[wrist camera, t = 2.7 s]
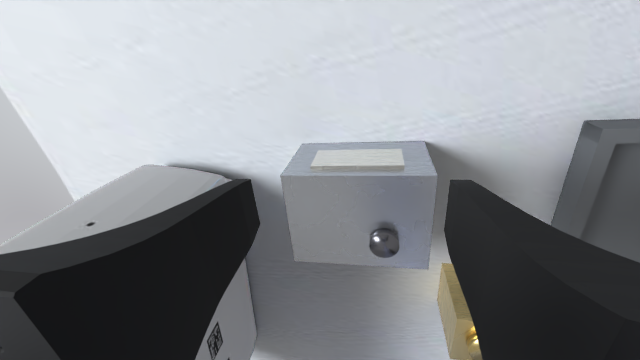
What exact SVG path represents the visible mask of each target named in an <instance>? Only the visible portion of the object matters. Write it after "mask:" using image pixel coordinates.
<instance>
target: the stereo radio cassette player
mask: <svg viewBox="0 0 640 360" xmlns="http://www.w3.org/2000/svg"><path fill="white" fill-rule="evenodd" d="M229 181H232V180H231V179H227V178H224V176H221V175H218V174H213V173H209V172H204V171H199V170H194V169H186V168H179V167H170V166H159V165H144V166H141V167H139V168H137V169H135V170H133V171H131V172H129V173H127V174H125V175H123V176H121V177H119V178H117V179H115V180H113V181H111V182H109V183H107V184H105V185H104V186H102V187H100V188H98V189H96V190H94V191H92V192H91V193H89V194H87V195H85V196H84V197H82V198H80V199H78V200H76V201H75V202H73V203H71V204H70V205H68V206H66V207H64V208H62V209H61V210H59V211H57V212H56V213H54V214H52V215H50V216H49V217H47V218H45V219H43V220H42V221H40V222H38V223H36V224H35V225H33V226H31V227H29V228H28V229H26V230H24V231H23V232H21V233H19V234H18V235H16V236H14V237H12V238H11V239H9V240H7V241H6V242H4V243H2V244H1V245H0V254H5V253H11V252H17V251H23V250H28V249H34V248H39V247H44V246H49V245H53V244H58V243H62V242H67V241H71V240H75V239H79V238H83V237H87V236H91V235H94V234H98V233H101V232H105V231H108V230H111V229H115V228H118V227H121V226H125V225H128V224H131V223H134V222H136V221H139V220H142V219H145V218H147V217H150V216H153V215H155V214H158V213H160V212H163V211H165V210H167V209H169V208H172V207H174V206H176V205H179V204H181V203H183V202H185V201H188V200H190V199H192V198H194V197H196V196H198V195H200V194H202V193H204V192H207V191H209V190H211V189H213V188H215V187H217V186H220V185H222V184H224V183H227V182H229ZM256 338H257V332H256V325H255V319H254V313H253V306H252V300H251V293H250V287H249V280H248V274H247V267H246V261H245V258H244V260H243V262H242V263H241V265H240V267H239V269H238V270H237V272H236V274H235V275H234V277H233V279H232V281H231V282H230V284H229V286H228V288H227V289H226V291H225V293H224V295H223V297H222V298H221V300H220V302H219V304H218V307H217V309H216V311H215V313H214V316H213V318H212V320H211V322H210V325H209V327H208V329H207V332H206V334H205V336H204V339H203V341H202V344H201V346H200V349H199V351H198V354H197V356H196V359H195V360H250V358H251V355H252V353H253V350H254V346H255V341H256Z"/></svg>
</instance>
